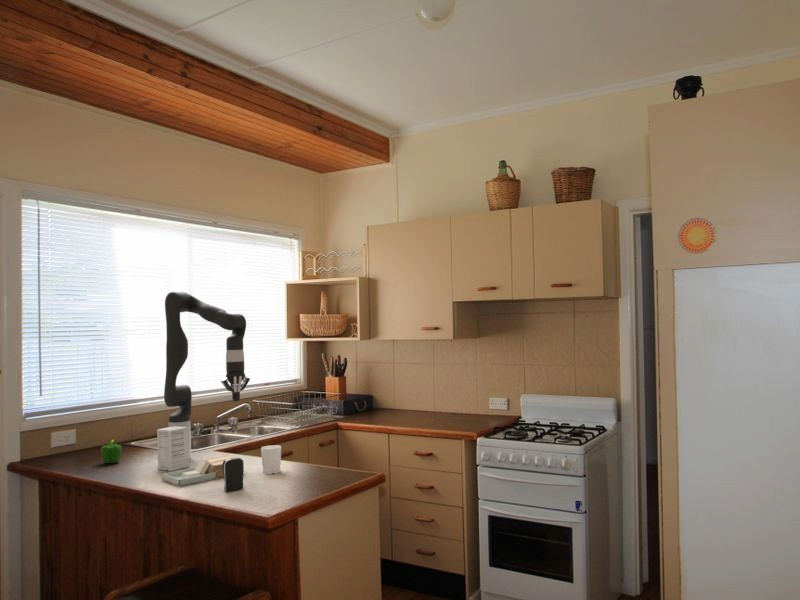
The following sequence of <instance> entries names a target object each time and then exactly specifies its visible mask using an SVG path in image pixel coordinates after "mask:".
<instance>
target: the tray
mask: <svg viewBox="0 0 800 600" xmlns="http://www.w3.org/2000/svg"><path fill="white" fill-rule="evenodd" d="M195 468H196V466H195V467H191V468H184V469H178V470H174V471H169V472H163V473H162V478H161V479H162V481H163V480H165V481H164V482H166V481H167V482H166V483H168V482H169V483H168V484H170V485H173V484H174V485H173V486H176V485H177V486H176V487H178V486H181V487H184V486H188V485H189V486H190V485H195V484H199V482H200V483H205V482H208V481H213V479H214V480H217V479H216V473H215V472H214V473H209V474H200V475H199V476H195V477H190V478H185V479H183V478H182V473H184V472H189V471H194V469H195ZM204 481H205V482H204ZM194 483H195V484H194Z"/></svg>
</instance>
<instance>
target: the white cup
mask: <svg viewBox="0 0 800 600" xmlns="http://www.w3.org/2000/svg"><path fill="white" fill-rule="evenodd" d="M260 452H261V454H260V455H261V465H262V473H263V474H264V473H266V474H265V475H273V474H272V473H275V474H279V473H280V472H281V464H282V463H281V461H282V446H281V445H279V444H278V445H276V444H275V445H274V444H273V445H265V446H261V448H260ZM278 472H279V473H278Z"/></svg>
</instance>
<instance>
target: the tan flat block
mask: <svg viewBox="0 0 800 600" xmlns="http://www.w3.org/2000/svg"><path fill="white" fill-rule="evenodd" d="M230 458H234V457H233V456H229V455H224V456H223V455H222V456H218V457H213V458H207V459H205V460H206V461H208V462H210V465H209V467H208V468H207V470H206V471H205V473H204V474H209V473H214V472H215V473H216V478H217V479H221V477H222V478H224V474H223V471H222V468H223V461H224V460H226V459H230ZM199 462H200V460H199ZM199 462H198V463H199ZM244 463H245V462H244V461H243V472H245V468H244Z"/></svg>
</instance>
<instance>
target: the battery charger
mask: <svg viewBox="0 0 800 600" xmlns="http://www.w3.org/2000/svg"><path fill="white" fill-rule="evenodd" d="M243 462H244V460H243V459H242V458H241V457H233V458H230V459H226V460H224V461H223V468H222V471H223V474H224V477H223V480H224V481H223V482H224V487H223V488H224V490H223V491H224V492H225V493H230V492H236V491H240V490H243V489H244V473H243Z"/></svg>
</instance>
